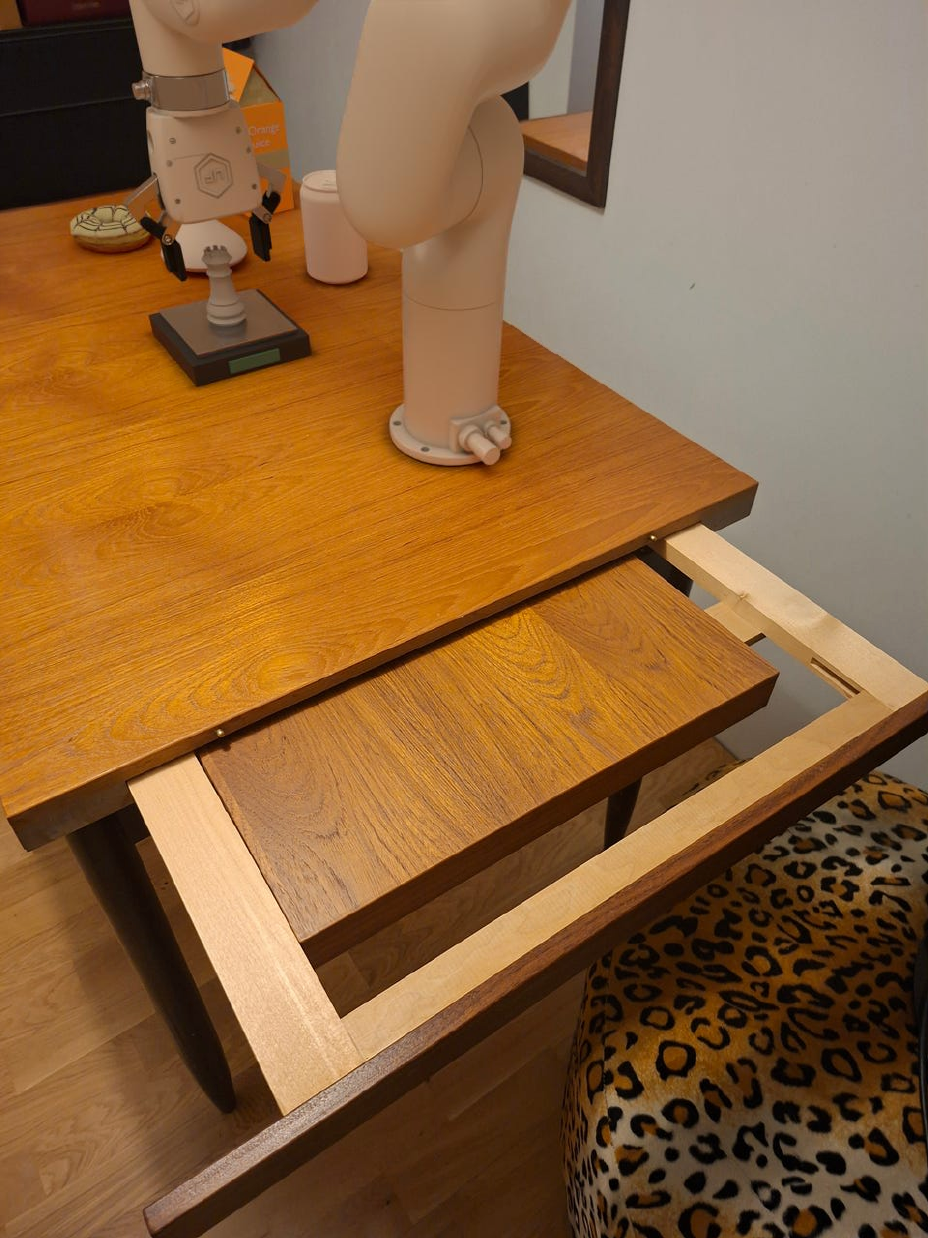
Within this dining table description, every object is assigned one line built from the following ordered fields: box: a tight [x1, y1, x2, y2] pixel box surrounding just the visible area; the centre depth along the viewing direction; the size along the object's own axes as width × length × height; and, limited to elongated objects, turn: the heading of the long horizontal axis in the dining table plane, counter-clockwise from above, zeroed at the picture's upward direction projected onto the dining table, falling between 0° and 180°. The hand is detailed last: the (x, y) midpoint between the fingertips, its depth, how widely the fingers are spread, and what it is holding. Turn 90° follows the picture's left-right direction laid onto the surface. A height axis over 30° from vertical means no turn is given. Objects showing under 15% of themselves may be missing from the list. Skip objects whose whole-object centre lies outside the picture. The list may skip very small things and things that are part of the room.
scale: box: [148, 288, 312, 387], centre depth 102 cm, size 14×14×2 cm
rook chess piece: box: [202, 245, 246, 327], centre depth 97 cm, size 4×4×8 cm
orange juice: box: [222, 47, 295, 219], centre depth 126 cm, size 8×9×20 cm
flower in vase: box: [160, 69, 248, 273], centre depth 110 cm, size 13×11×25 cm
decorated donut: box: [69, 204, 152, 253], centre depth 121 cm, size 10×11×4 cm
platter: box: [158, 287, 297, 360], centre depth 101 cm, size 12×12×1 cm
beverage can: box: [299, 169, 369, 285], centre depth 113 cm, size 8×8×12 cm
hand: (222, 266), depth 96 cm, fingers open, 9 cm apart
